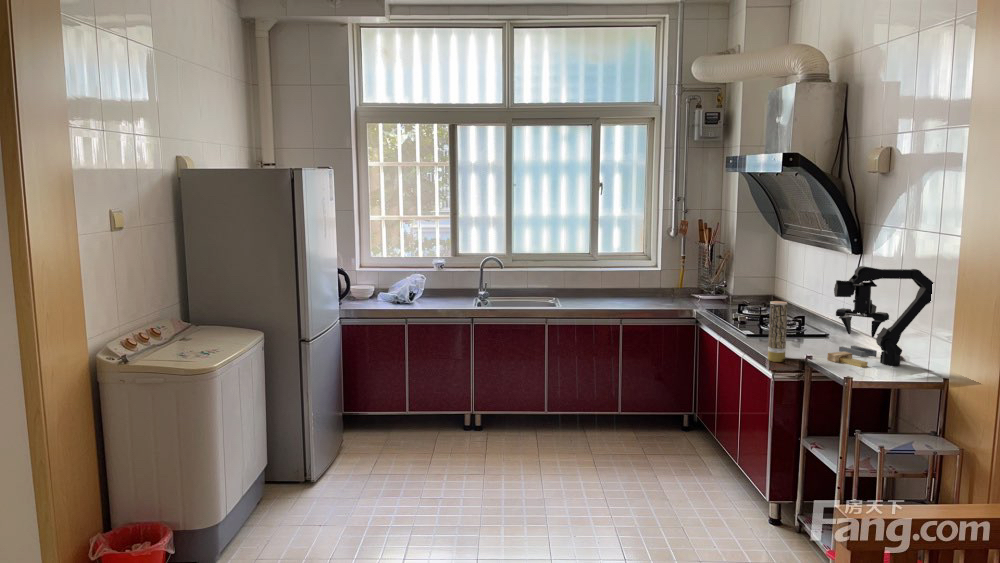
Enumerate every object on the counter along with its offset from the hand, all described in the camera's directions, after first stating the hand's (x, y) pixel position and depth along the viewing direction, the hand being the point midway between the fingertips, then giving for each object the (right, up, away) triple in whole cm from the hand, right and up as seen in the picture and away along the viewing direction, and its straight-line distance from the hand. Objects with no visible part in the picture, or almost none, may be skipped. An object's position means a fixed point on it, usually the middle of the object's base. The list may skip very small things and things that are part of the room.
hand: (860, 335), depth 282 cm
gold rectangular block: (-4, -11, -1) cm, 12 cm away
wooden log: (-30, -12, +12) cm, 34 cm away
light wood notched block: (-6, -12, +5) cm, 15 cm away
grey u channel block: (+9, -11, +20) cm, 24 cm away
